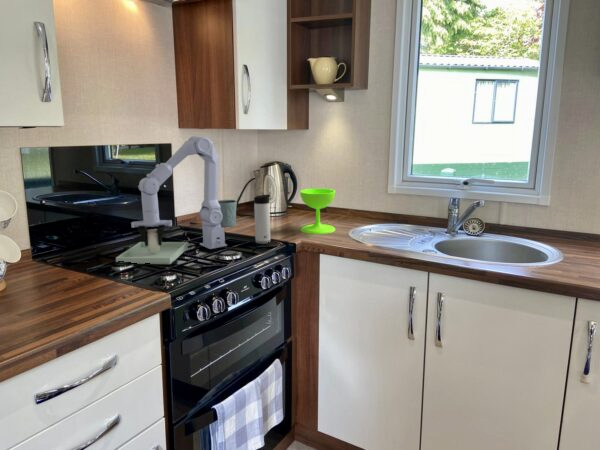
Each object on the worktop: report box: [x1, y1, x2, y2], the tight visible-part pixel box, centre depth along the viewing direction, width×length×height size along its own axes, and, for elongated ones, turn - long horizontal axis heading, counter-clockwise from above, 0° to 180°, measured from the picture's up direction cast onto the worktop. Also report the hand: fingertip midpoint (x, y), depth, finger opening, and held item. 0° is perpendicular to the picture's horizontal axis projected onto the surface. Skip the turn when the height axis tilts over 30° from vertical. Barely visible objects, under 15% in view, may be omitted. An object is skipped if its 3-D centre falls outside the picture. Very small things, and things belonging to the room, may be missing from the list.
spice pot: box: [147, 228, 160, 252], centre depth 182 cm, size 5×5×8 cm
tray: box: [115, 241, 189, 265], centre depth 183 cm, size 22×20×2 cm
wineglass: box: [299, 188, 336, 235], centre depth 218 cm, size 16×16×18 cm
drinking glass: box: [217, 199, 238, 228], centre depth 229 cm, size 10×10×12 cm
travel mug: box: [253, 194, 271, 245], centre depth 198 cm, size 6×7×20 cm
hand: (153, 245), depth 182 cm, fingers closed on spice pot, 4 cm apart
